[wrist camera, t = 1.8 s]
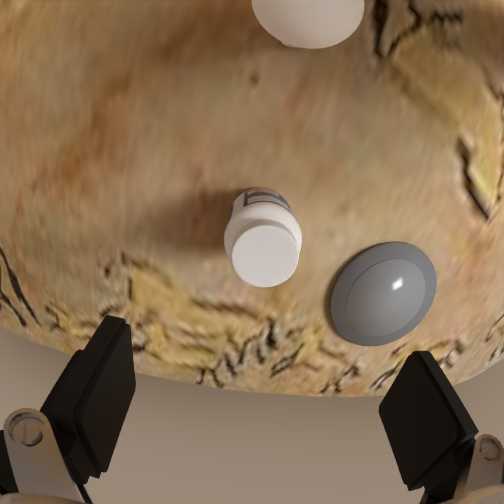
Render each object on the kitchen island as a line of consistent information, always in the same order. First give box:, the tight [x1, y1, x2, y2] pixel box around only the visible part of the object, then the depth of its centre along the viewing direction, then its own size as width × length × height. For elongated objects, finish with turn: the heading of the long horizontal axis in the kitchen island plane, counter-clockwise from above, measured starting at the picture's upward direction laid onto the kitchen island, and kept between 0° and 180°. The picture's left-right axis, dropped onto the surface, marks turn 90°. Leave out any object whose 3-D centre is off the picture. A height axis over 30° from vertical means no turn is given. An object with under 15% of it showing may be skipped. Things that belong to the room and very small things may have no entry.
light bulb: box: [251, 0, 364, 49], centre depth 15 cm, size 7×7×11 cm
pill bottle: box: [224, 187, 302, 287], centre depth 22 cm, size 5×5×9 cm
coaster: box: [330, 242, 436, 346], centre depth 29 cm, size 12×12×1 cm
